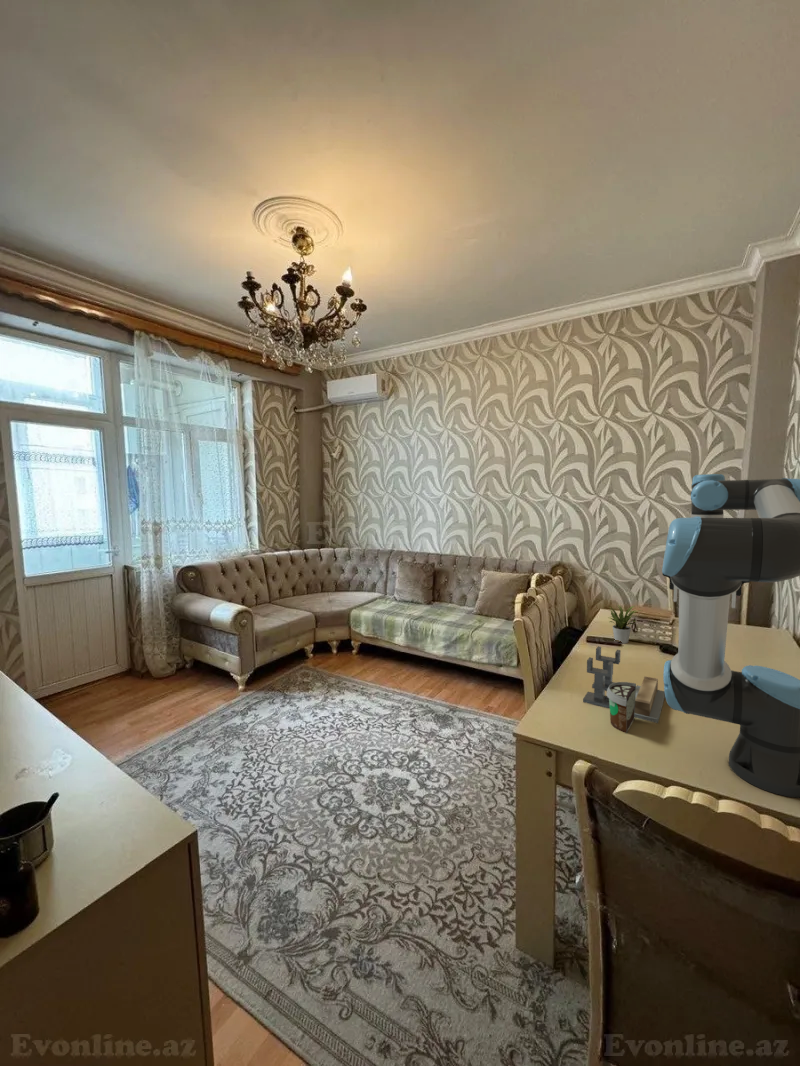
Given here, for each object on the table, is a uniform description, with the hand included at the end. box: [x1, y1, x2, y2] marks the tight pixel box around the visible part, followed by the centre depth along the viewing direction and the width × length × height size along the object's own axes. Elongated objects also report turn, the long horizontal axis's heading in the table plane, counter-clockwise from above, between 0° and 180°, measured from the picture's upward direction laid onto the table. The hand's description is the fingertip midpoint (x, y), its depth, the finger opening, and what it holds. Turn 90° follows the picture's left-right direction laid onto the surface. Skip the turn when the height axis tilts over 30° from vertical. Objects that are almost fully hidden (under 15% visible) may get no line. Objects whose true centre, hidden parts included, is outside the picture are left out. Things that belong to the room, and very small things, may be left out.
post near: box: [582, 656, 614, 710], centre depth 133 cm, size 8×6×13 cm
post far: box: [591, 645, 621, 692], centre depth 142 cm, size 8×6×13 cm
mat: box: [634, 684, 666, 724], centre depth 131 cm, size 21×8×1 cm, turn 144°
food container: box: [605, 681, 637, 734], centre depth 121 cm, size 12×6×10 cm, turn 140°
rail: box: [635, 675, 659, 717], centre depth 131 cm, size 4×20×4 cm, turn 144°
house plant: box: [607, 604, 642, 644], centre depth 186 cm, size 14×14×16 cm
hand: (703, 603), depth 124 cm, fingers open, 13 cm apart
